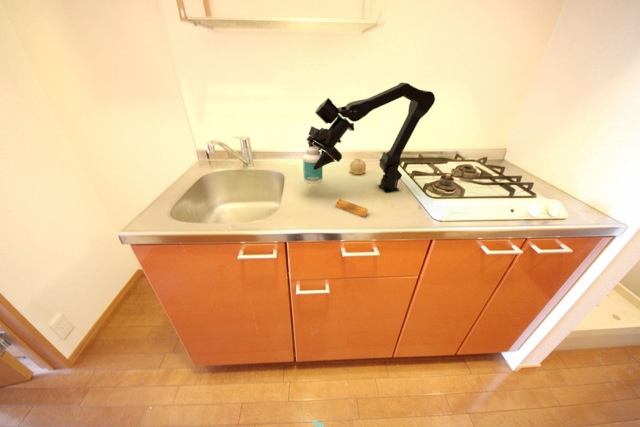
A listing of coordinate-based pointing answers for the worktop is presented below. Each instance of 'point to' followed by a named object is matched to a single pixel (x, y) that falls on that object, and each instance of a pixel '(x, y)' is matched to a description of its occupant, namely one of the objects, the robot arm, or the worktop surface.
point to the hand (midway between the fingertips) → (309, 165)
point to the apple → (357, 166)
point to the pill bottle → (312, 166)
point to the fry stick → (352, 207)
